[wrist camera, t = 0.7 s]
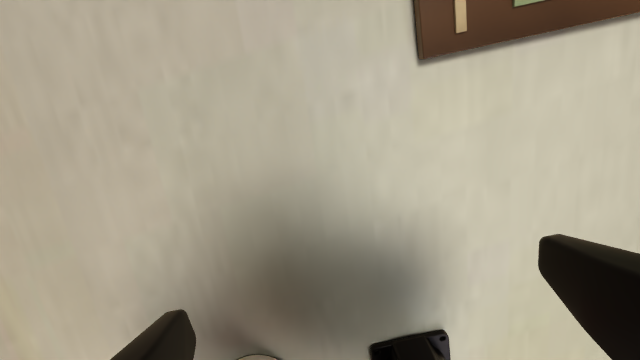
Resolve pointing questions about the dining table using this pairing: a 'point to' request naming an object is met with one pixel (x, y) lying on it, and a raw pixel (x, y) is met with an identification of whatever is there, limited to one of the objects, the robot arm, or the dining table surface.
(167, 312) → the robot arm
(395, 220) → the dining table surface
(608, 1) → the brown and green board
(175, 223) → the dining table surface
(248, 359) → the pill bottle
